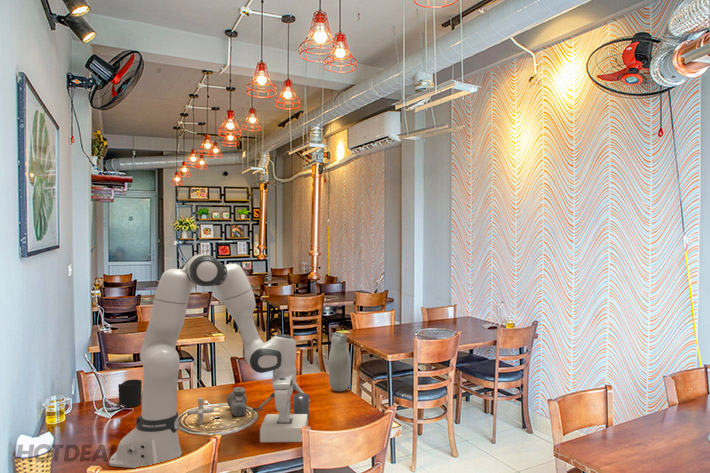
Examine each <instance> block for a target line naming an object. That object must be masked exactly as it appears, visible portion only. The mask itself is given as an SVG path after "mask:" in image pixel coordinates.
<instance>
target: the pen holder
mask: <svg viewBox="0 0 710 473" xmlns="http://www.w3.org/2000/svg"><path fill="white" fill-rule="evenodd" d="M142 388H143V380H141V379H126V380H125V381H123V382H122V383H118V404H119V405H122V406H124V407H132V408H135V407H138V406H140V405H142ZM119 405H118V406H119Z"/></svg>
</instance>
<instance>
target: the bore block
mask: <svg viewBox="0 0 710 473" xmlns="http://www.w3.org/2000/svg"><path fill="white" fill-rule="evenodd" d="M308 419H309V418H308V414H293V413H291V424H279V413H274V414H273V413H270V414H269V413H268V414H266V415H265V417H264V420H263V421H262V423H261V425H260V428H259V442H260V443H303V442H302V434H301V428H302V427H303V426H308V425H309V424H308V423H309V422H308V421H309V420H308Z"/></svg>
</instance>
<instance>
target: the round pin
mask: <svg viewBox="0 0 710 473" xmlns="http://www.w3.org/2000/svg"><path fill="white" fill-rule="evenodd" d="M292 398H293V400H292V401H293V403H292V404H293V405H292V406H293V407H292V408H293V413H292V414H308V419H310V402H309V400H310V394H308V393H305V392H304V393H299V392H298V393H295V394H294V395H293V397H292Z"/></svg>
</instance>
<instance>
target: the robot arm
mask: <svg viewBox="0 0 710 473" xmlns="http://www.w3.org/2000/svg"><path fill="white" fill-rule="evenodd" d="M195 286H200V287H212V286H213V287H216V288H217V289H218V292H219V294H220V297H221V298H222V302H223V303H224V306H225V308H226V310H227V312H228V313H229V315H230V316H231V318H232V320H234V322H235V323H236V325H237V329H238V331H239V333H240V337H241V340H242V359H243V360H244V361H245V363H246V364H248V365H249V366H250V368H251V369H252V370H253V371H254V372H256V373H260V374H263V373H268V372H272V389H273V390H274V392H273V393H274V405H275V406H274V407H275V410H276V411H278V412H279V411H281V417H282V418H285V417H286V408H287V405H288V403H289V400H290V399H291V397H292V394H293V391H292V387H293V384H294V383H295V382H296V383H297V365H296V360H297V345H296V344H297V343H296V340H295V338H294V337H292V335H289V334H284V333H277V334H274V335H273V337H272V338H270V339H269V340H267V341H266V342H265V341H263V339H262V338H261V337H260V336H259V333H258V329H257V327H256V325H255V321H254V316H253V314H254V310H255V309H256V307H257V304H256V299H255V294H254V291H253V288H252V286H251V283H250V280H249V278H248V276H247V274H246V273H245V270H243V268H242V267H241V265H239V264H238V263H228V264H227V263H226V264H223V263H222V262H221V261H219V259H217V258H216V257H214V256H212V255H211V254H208V253H197V254H194V255H192V256H190V257H189V258H188V259H187V261H185V263H184V264H183V265H182V266H181V267H180V268H171V269H170V268H169V269H167V270H164V272H163V273H162V274H161V277H160V279H159V282H158V284H157V287H156V290H155V293H154V297H153V303H152V307H151V308H152V309H151V310H150V316H149V321H148V325H147V326H146V327H147V328H146V331H145V334H144V336H143V341H142V345H141V348H140V352H139V360H140V363H141V364H142V368H143V372H142V373H143V375H142V377H143V378H142V389H141V413H140V414H139V416H138V417H137V418H136V419H135V420H134V421H133V422H134V424H133V425H134V426H136V427H134V428H133V429H132V430H131V431H129V432H128V433H127V434H126V435H125V436H123V437H122V439H121V440H120V441H119V443H118V444H117V450H116V451H115V452H114V453H113V455H111V456H110V458H109V461H108V466H110V467H119V468H129V469H130V468H131V469H137V468H136V467H139V466H141V467H142V466H147V465H152V464H156V463H160V462H164V461H167V460H171V459H174V458H177V457H179V458H180V457H181V456H182V453H183V451H182V449H181V448H182V447H181V446H180V440H179V439H180V438H179V433H178V432H179V431H178V429H179V421H180V420H179V412H178V409H177V408H178V404H177V401H178V400H177V398H178V397H177V395H178V393H177V391H178V383H179V382H178V381H179V375H180V374H179V373H180V355H179V352H178V351H177V349H176V347H177V343H178V340H179V336H180V334H181V331H182V329H183V327H184V323H185V319H186V315H187V314H186V313H187V309H188V304H189V300H190V294H191V292H192V290H193V288H194V287H195ZM177 459H178V458H177Z"/></svg>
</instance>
